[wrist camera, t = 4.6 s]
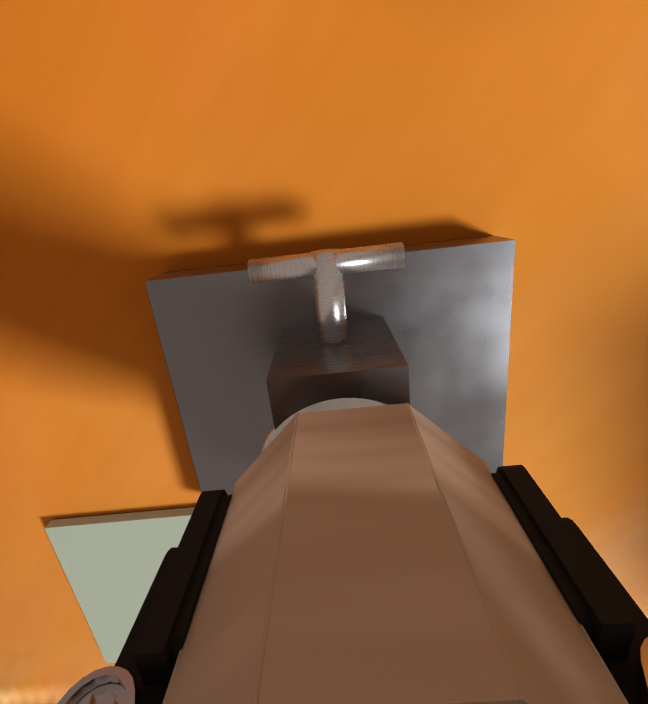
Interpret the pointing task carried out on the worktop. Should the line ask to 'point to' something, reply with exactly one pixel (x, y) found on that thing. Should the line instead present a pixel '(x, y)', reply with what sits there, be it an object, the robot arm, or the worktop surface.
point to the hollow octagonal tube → (379, 580)
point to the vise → (337, 344)
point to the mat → (115, 565)
